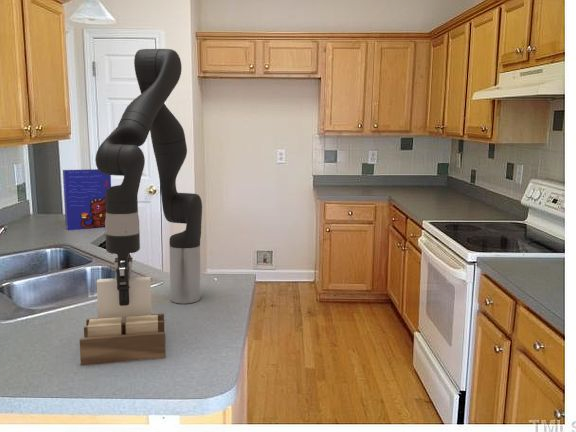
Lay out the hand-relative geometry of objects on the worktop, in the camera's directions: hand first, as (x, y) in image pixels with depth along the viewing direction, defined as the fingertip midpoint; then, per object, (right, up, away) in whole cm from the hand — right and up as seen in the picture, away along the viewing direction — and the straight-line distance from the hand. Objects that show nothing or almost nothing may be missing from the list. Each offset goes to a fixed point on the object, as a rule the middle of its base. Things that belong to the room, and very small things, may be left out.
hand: (124, 301), depth 120 cm
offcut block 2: (+5, -11, -3) cm, 13 cm away
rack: (+1, -12, -1) cm, 12 cm away
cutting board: (0, -10, +2) cm, 11 cm away
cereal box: (-64, +14, +141) cm, 156 cm away
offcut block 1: (-3, -11, -5) cm, 13 cm away
